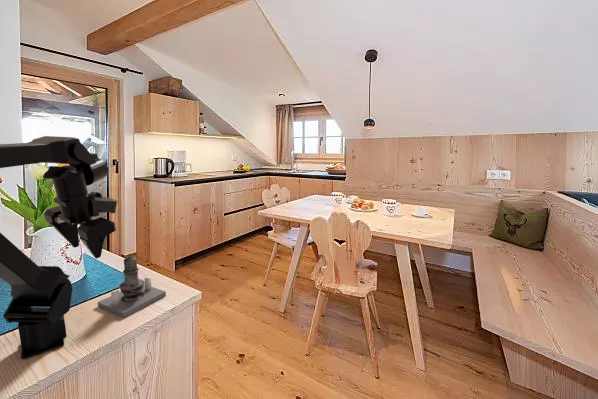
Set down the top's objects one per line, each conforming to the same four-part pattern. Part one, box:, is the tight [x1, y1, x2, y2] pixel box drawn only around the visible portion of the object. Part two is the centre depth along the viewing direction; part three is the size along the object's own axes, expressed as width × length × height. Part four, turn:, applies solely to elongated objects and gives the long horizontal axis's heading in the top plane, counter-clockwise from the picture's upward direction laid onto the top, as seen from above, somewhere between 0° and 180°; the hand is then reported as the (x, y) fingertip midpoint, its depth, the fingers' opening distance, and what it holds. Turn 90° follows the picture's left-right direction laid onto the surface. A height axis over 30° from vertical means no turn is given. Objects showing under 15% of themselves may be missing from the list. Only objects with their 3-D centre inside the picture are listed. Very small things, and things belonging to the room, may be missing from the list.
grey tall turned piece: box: [118, 253, 145, 302], centre depth 77 cm, size 6×6×12 cm
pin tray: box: [97, 275, 167, 318], centre depth 78 cm, size 12×10×5 cm
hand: (87, 252), depth 73 cm, fingers open, 9 cm apart
